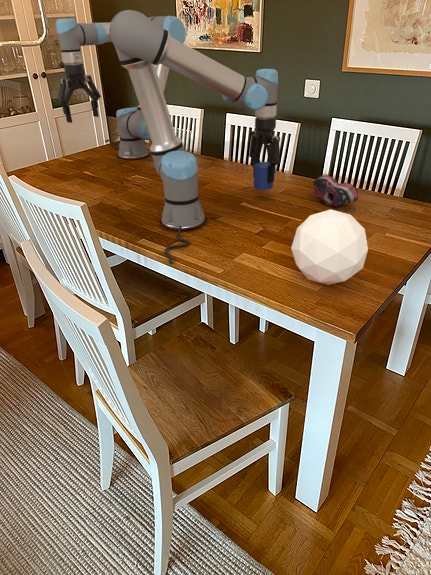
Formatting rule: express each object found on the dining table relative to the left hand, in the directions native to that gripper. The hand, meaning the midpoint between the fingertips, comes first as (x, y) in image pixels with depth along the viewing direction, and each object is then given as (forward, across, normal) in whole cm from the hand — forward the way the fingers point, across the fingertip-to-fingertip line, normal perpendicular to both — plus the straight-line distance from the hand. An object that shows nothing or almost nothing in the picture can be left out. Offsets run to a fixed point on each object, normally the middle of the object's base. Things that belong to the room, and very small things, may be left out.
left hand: (83, 119), depth 188 cm
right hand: (+18, +23, -77) cm, 83 cm away
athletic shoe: (+25, +32, -101) cm, 109 cm away
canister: (+21, +23, -77) cm, 83 cm away
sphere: (+25, -18, -126) cm, 130 cm away
